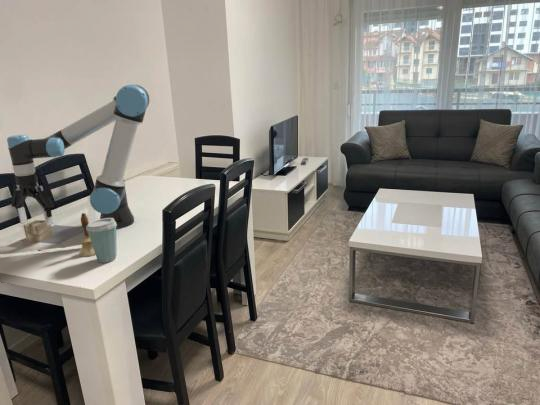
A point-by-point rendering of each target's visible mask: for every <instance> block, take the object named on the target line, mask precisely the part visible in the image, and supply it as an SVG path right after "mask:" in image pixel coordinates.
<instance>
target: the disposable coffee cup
mask: <svg viewBox="0 0 540 405" xmlns="http://www.w3.org/2000/svg"><path fill="white" fill-rule="evenodd" d="M116 226H117V224H116V222H115V221H114V218H104V219H100V218H99V219H96V220H93V221H91V222H89V224H88V225H87V226H86V230H87V232H88V234H89V237H90V240H91V243H92V246H93V249H94V251H95V254H96V255H95V257H96V259H97V261H98V262H99V263H110V262H112V261H115V259H116V258H117V229H116Z"/></svg>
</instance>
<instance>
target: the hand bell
mask: <svg viewBox="0 0 540 405" xmlns="http://www.w3.org/2000/svg"><path fill="white" fill-rule="evenodd" d="M80 215H81V216H80V223H81V227H83V228H84V239H82V240H81V243H82V244H81V249H80V251H79V253H78V255H79V256H80V257H85V258H87V257H92V256H96V254H95V251H94V249H93V246H92V243H91V240H90V237H89V234H88V232H87V230H86V226H87V225H88V224H89V223H90V222H89V218H88V216H87V214H86V212H83V213H81V214H80Z"/></svg>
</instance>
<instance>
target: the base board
mask: <svg viewBox="0 0 540 405" xmlns="http://www.w3.org/2000/svg"><path fill="white" fill-rule="evenodd" d="M51 228H52V233H53V236H52V237H50V238H48V239H46V240H44V241H42V242H40V243H43V244H44V243H45V244H55V245H59V244H61V243H64V242H66V241H68V240H70V239H71V238H74V237H75V236H77V235H79V234H81V233H83V232H84V228H83V226H71V225H59V224H55V225H51ZM22 241H23V242H28V241H27V239H26V237H25V238H23V239H21V240H20V242H22ZM29 242H31V243H33V242H32V241H29Z"/></svg>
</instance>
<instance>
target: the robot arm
mask: <svg viewBox="0 0 540 405" xmlns="http://www.w3.org/2000/svg"><path fill="white" fill-rule="evenodd" d="M149 104H150V95H149V92H148V91H147V90H146V89H145V88H144V87H143V86H141V85H138V84H127V85H124V86H122V87H120V88H119V89H118V92H117V93H116V95H115V96H113V98H112V101H110V102H108V103H107V104H105V105H103V106H101V107H100V108H97V109H96V110H94V111H92V112H91V113H89V114H87V115H84V116H83V117H82V118H80V119H78V120H76V121H74V122H73V123H71V124H68V125H67V126H65V127H63V128H62V129H61V130H58V131H57V132H55V133H53V134H51V135H49V136H46V137H45V138H38V139H35V138H34V139H30V138H29V136H28V134H16V135H11V136H8V137H7V140H6V141H7V149H8V152H9V157H10V159H11V160H10V161H11V164H12V171H13V174H14V175H15V176H14V177H15V178H14V179H15V183H16V185H13V187H12V189H13V192H12V193H13V194H12V200H11V207H12V208H15V209H16V212H17V215H18V217H19V221H20V222H19V223H20V224H23V225H24V224H25V223H29V222H28V221H29V220H28V217H27V214H26V209H25V207H24V204H25V201H26V199H27V198H28V197H29V198H33V199H35V201H37V203H38V204H39V205H40V206H41V207H42V208H43V211H42V213H43V217H44V220H45V222H46V226H48V225H50V224H51V225H52V224H53V223H54V222H53V218H52V217H53V214H52V209H53V208H55V205H54V203H53V201H52V200H51V198H50V196H49V194H48V193H47V191H46V188H45V185H43V184H41V185H39V186H38V184H37V183H38V180H39V179H38V175H37V173H36V167H35V162H34V159H43V158H57V157H63V156H64V154H65V150H66V149H68V148H69V147H71V146H73V145H75V144H76V143H78V142H80V141H81V140H83V139H85V138H88V137H89V136H91V135H92V134H94V133H97V132H98V131H100V130H101V129H103V128H106V127H108V126H109V125H110V124H112V123H114V126H113V129H112V132H111V136H110V140H109V146H108V148H107V153H106V156H105V161H104V164H103V168H102V172H101V174H100V175H98V176H96V178H95V179H96V180H95V183H94V186H93V190H92V191H91V193H90V195H89V204H90V206H91V207H92V209H93V210H94V211H96V212H97V213H99V214H100V217H99V219H104V218H114V221H115V222H116V224H117V226H116V230H117V229H122V228H126V227H129V226H131V225H132V223H133V222H134V223H135V216H134V215H133V213H132V211H131V209H130V207H129V204H128V203H129V202H128V197H127V191H126V190H127V189H126V181H125V179H124V176H125V172H126V169H127V166H128V162H129V158H130V155H131V151H132V147H133V144H134V139H135V137H136V133H137V129H138V126H139V125H141V124H143V121H144V118H145V114H146V111H147V108H148V107H149ZM134 223H133V224H134Z"/></svg>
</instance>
